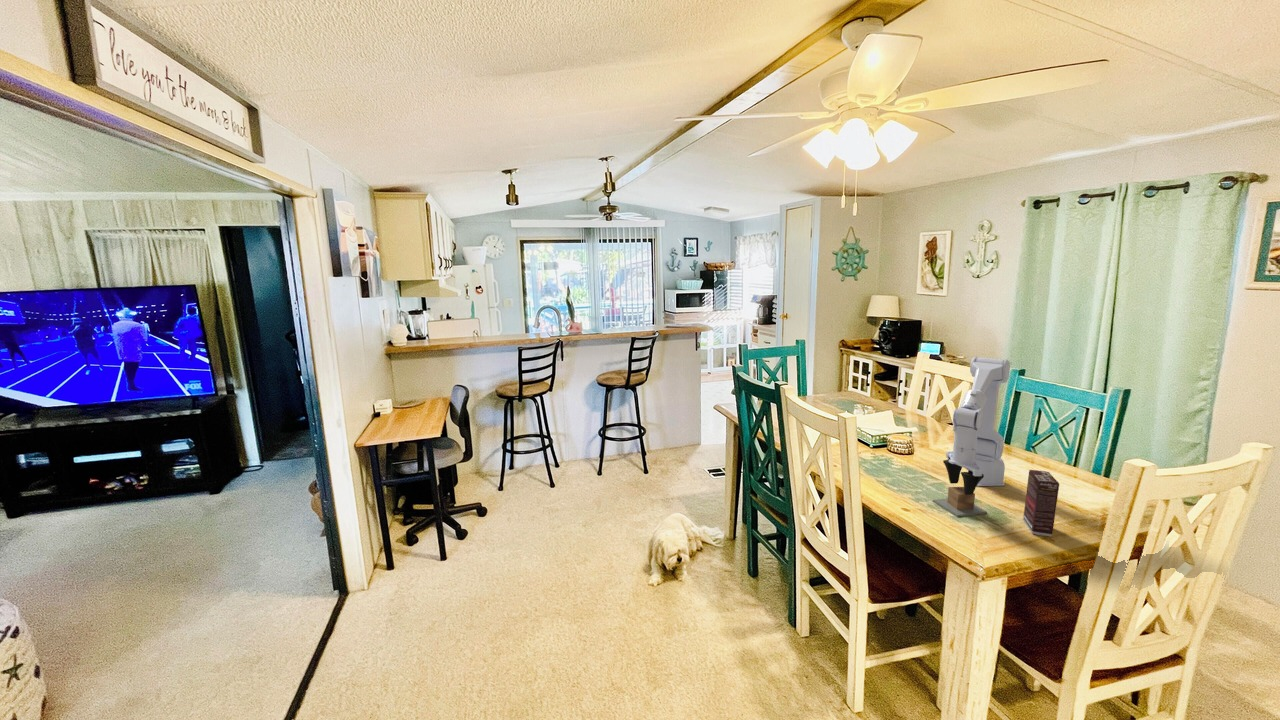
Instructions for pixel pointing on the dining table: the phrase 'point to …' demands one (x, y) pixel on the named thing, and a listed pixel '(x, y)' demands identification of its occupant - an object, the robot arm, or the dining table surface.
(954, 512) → the slate coaster
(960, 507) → the walnut cube
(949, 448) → the dining table surface
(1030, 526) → the supplement box
